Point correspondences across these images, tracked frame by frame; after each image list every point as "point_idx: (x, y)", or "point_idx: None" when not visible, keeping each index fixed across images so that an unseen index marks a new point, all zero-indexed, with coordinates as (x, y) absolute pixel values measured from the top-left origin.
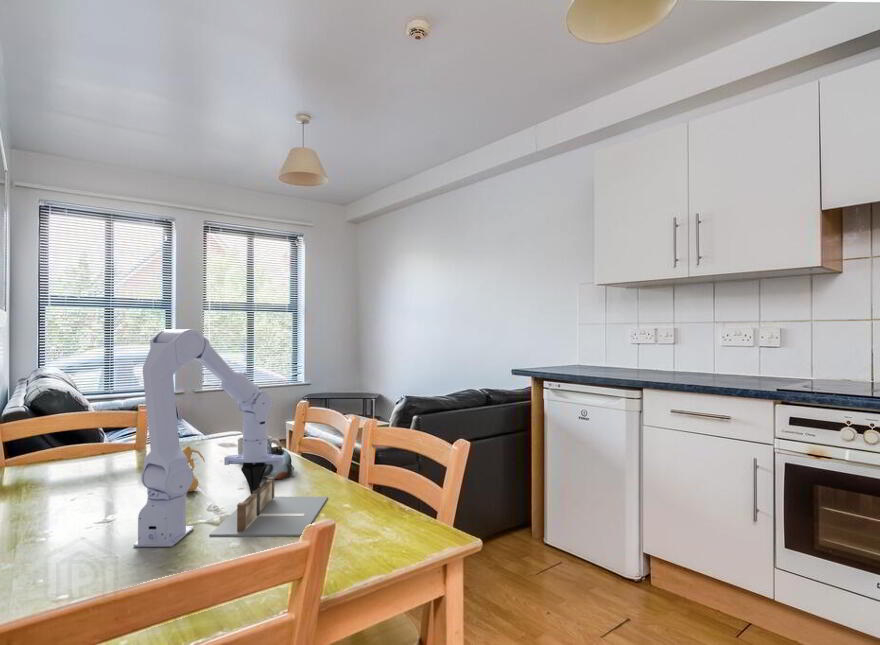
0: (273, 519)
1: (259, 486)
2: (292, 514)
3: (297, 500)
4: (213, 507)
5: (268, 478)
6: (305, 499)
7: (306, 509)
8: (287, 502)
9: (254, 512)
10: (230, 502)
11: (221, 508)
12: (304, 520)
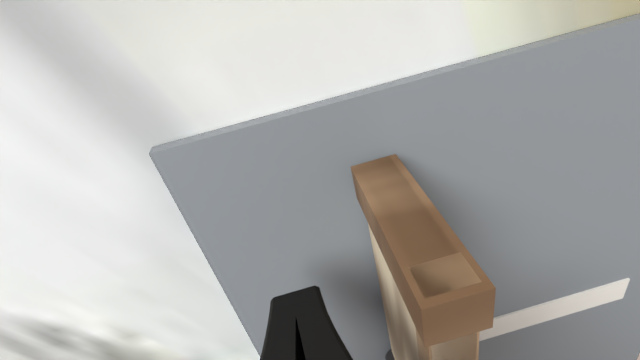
0: (497, 354)
1: (331, 322)
2: (573, 303)
3: (576, 124)
4: (59, 347)
5: (437, 343)
6: (635, 89)
7: (637, 232)
8: (512, 178)
9: None
10: (76, 262)
11: (127, 340)
12: (627, 322)
